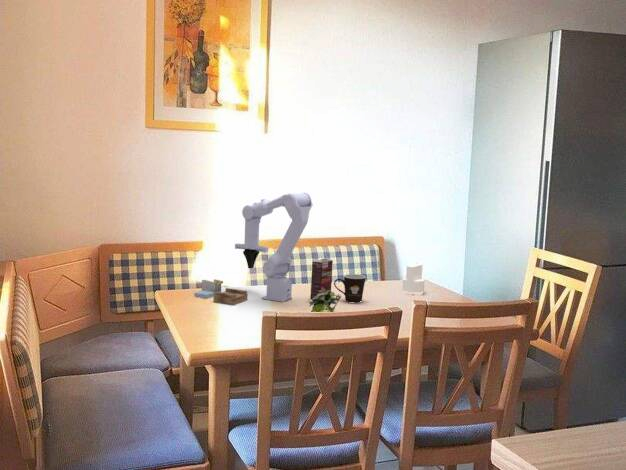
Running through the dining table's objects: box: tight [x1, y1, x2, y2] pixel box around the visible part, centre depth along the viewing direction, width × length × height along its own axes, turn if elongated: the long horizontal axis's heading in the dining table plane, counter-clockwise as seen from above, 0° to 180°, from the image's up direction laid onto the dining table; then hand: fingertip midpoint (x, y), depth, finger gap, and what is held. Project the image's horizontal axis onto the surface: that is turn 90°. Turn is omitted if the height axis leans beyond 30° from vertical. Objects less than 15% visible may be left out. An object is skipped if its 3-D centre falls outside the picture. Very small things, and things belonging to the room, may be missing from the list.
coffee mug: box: [333, 273, 366, 303], centre depth 271 cm, size 12×9×10 cm
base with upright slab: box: [402, 263, 425, 292], centre depth 290 cm, size 9×9×12 cm
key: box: [201, 279, 224, 293], centre depth 273 cm, size 11×2×6 cm, turn 50°
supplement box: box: [309, 258, 334, 300], centre depth 270 cm, size 9×5×16 cm, turn 148°
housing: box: [212, 287, 249, 306], centre depth 263 cm, size 9×10×4 cm
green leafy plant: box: [308, 289, 342, 313], centre depth 248 cm, size 11×11×12 cm
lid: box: [193, 289, 214, 300], centre depth 268 cm, size 6×5×2 cm
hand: (250, 267), depth 279 cm, fingers closed
